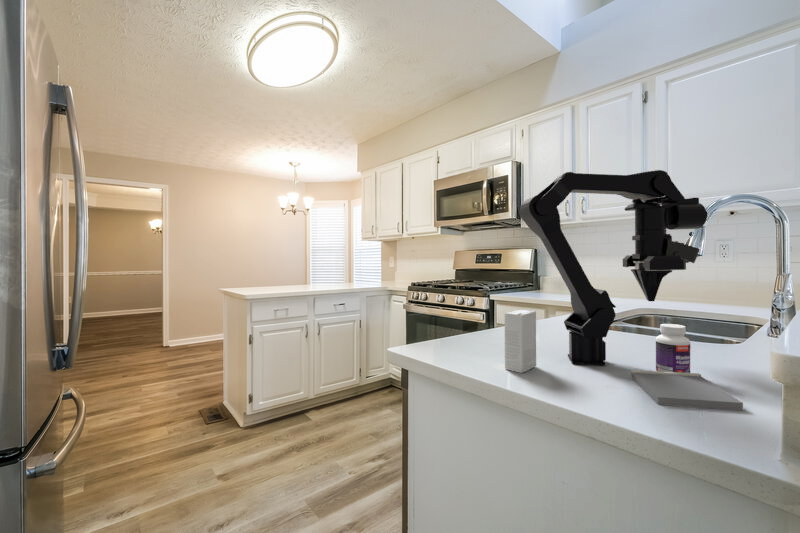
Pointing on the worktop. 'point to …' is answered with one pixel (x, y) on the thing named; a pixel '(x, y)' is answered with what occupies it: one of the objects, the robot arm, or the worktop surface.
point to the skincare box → (520, 340)
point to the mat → (684, 390)
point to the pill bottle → (672, 349)
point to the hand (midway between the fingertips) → (650, 301)
